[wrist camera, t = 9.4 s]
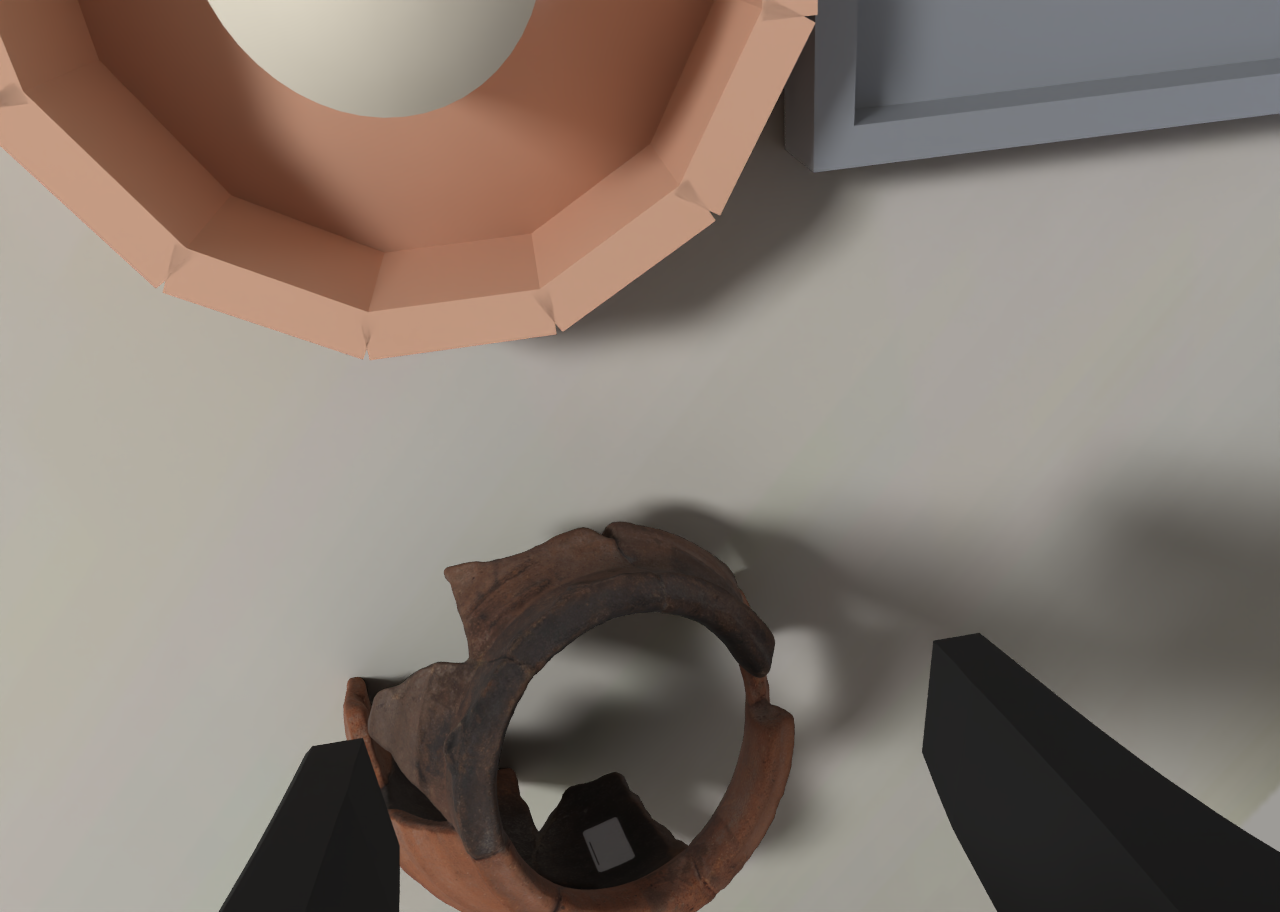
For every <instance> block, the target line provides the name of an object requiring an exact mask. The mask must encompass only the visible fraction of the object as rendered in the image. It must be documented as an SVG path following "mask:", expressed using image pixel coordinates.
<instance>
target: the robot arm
mask: <svg viewBox="0 0 1280 912" xmlns="http://www.w3.org/2000/svg"><path fill="white" fill-rule="evenodd" d="M922 753H923V756H924V758H925V761H926V763H927V766H928V769H929V771H930V774H931V776H932V779H933V782H934V784H935V787H936V789H937V792H938V794H939V797H940V799H941V802H942V804H943V807H944V809H945V811H946V814H947V816H948V819H949V821H950V824H951V826H952V828H953V830H954V832H955V834H956V836H957V838H958V840H959V841H960V843H961V845H962V847H963V849H964V851H965V853H966V855H967V857H968V858H969V860H970V862H971V864H972V866H973V868H974V870H975V871H976V873H977V875H978V877H979V879H980V881H981V883H982V884H983V886H984V888H985V890H986V892H987V894H988V895H989V897H990V899H991V901H992V903H993V905H994V906H995V908H996V910H997V912H1280V852H1279V851H1277V850H1275V849H1274V848H1272V847H1270V846H1269V845H1267V844H1265V843H1264V842H1262V841H1260V840H1259V839H1257V838H1255V837H1254V836H1252V835H1251V834H1249V833H1247V832H1246V831H1244V830H1243V829H1241V828H1240V827H1238V826H1236V825H1235V824H1233V823H1232V822H1230V821H1229V820H1227V819H1226V818H1224V817H1222V816H1221V815H1219V814H1218V813H1216V812H1215V811H1213V810H1212V809H1210V808H1209V807H1208V806H1206V805H1205V804H1203V803H1202V802H1200V801H1199V800H1197V799H1196V798H1194V797H1193V796H1191V795H1190V794H1189V793H1187V792H1186V791H1184V790H1183V789H1181V788H1180V787H1178V786H1177V785H1175V784H1174V783H1173V782H1171V781H1170V780H1168V779H1167V778H1165V777H1164V776H1162V775H1161V774H1160V773H1158V772H1157V771H1156V770H1154V769H1153V768H1151V767H1150V766H1149V765H1147V764H1146V763H1144V762H1143V761H1142V760H1140V759H1139V758H1138V757H1136V756H1135V755H1134V754H1132V753H1131V752H1130V751H1128V750H1127V749H1126V748H1124V747H1123V746H1122V745H1120V744H1119V743H1118V742H1116V741H1115V740H1114V739H1112V738H1111V737H1110V736H1109V735H1107V734H1106V733H1105V732H1103V731H1102V730H1101V729H1099V728H1098V727H1097V726H1095V725H1094V724H1093V723H1091V722H1090V721H1089V720H1088V719H1086V718H1085V717H1084V716H1082V715H1081V714H1080V713H1079V712H1077V711H1076V710H1075V709H1073V708H1072V707H1071V706H1070V705H1068V704H1067V703H1066V702H1065V701H1063V700H1062V699H1061V698H1060V697H1058V696H1057V695H1056V694H1055V693H1053V692H1052V691H1051V690H1050V689H1048V688H1047V687H1046V686H1045V685H1043V684H1042V683H1041V682H1040V681H1038V680H1037V679H1036V678H1035V677H1033V676H1032V675H1031V674H1030V673H1029V672H1027V671H1026V670H1025V669H1024V668H1022V667H1021V666H1020V665H1019V664H1017V663H1016V662H1015V661H1014V660H1012V659H1011V658H1010V657H1009V656H1008V655H1006V654H1005V653H1004V652H1003V651H1001V650H1000V649H999V648H998V647H996V646H995V645H994V644H993V643H991V642H990V641H989V640H987V639H986V638H985V637H984V636H982V635H981V634H980V633H976V634H971V635H965V636H959V637H953V638H947V639H941V640H935V641H933V650H932V660H931V669H930V679H929V689H928V699H927V709H926V718H925V728H924V738H923V748H922ZM399 895H400V845H399V842H398V839H397V836H396V833H395V830H394V827H393V824H392V821H391V818H390V815H389V813H388V810H387V807H386V804H385V801H384V798H383V795H382V792H381V789H380V786H379V783H378V780H377V777H376V774H375V772H374V769H373V766H372V763H371V760H370V757H369V754H368V751H367V748H366V745H365V742H364V739H363V738H358V739H353V740H347V741H341V742H335V743H329V744H323V745H317V746H312V747H311V748H310V750H309V751H308V752H307V753H306V754H305V756H304V758H303V760H302V762H301V764H300V766H299V768H298V770H297V772H296V774H295V776H294V778H293V780H292V782H291V783H290V785H289V787H288V789H287V791H286V793H285V795H284V797H283V799H282V801H281V803H280V804H279V806H278V808H277V810H276V812H275V814H274V816H273V818H272V819H271V821H270V823H269V825H268V827H267V829H266V830H265V832H264V834H263V836H262V838H261V839H260V841H259V843H258V845H257V847H256V849H255V850H254V852H253V854H252V856H251V857H250V859H249V861H248V863H247V864H246V866H245V868H244V869H243V871H242V873H241V875H240V876H239V878H238V880H237V881H236V883H235V885H234V886H233V888H232V890H231V892H230V893H229V895H228V897H227V898H226V900H225V902H224V904H223V905H222V907H221V909H220V910H219V912H399Z"/></svg>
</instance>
